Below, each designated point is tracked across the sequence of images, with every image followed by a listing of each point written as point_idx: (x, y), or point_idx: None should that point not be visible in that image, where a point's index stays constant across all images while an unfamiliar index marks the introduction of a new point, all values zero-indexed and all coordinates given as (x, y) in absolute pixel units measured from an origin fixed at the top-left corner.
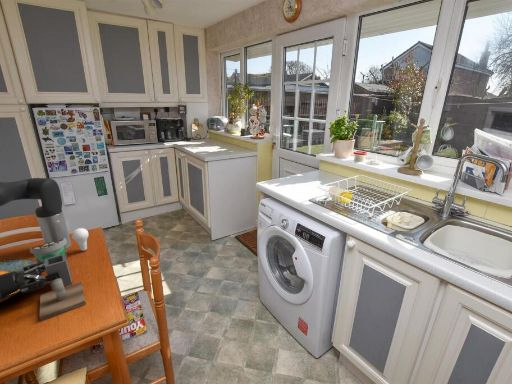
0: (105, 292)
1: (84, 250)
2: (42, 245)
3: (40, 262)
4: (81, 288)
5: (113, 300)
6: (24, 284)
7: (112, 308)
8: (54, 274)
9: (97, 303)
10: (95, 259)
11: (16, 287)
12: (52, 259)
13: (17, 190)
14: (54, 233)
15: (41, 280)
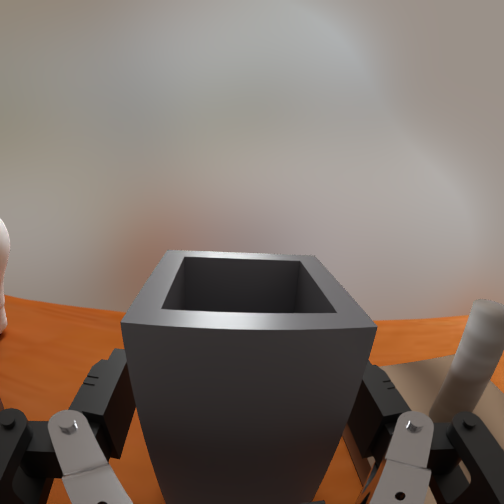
0: (399, 335)
1: (1, 331)
2: None
3: (3, 423)
4: (387, 368)
5: (437, 323)
6: None
7: (465, 324)
8: (371, 369)
9: (450, 346)
10: (112, 333)
11: None
12: (171, 306)
13: None
14: None
15: (460, 418)
